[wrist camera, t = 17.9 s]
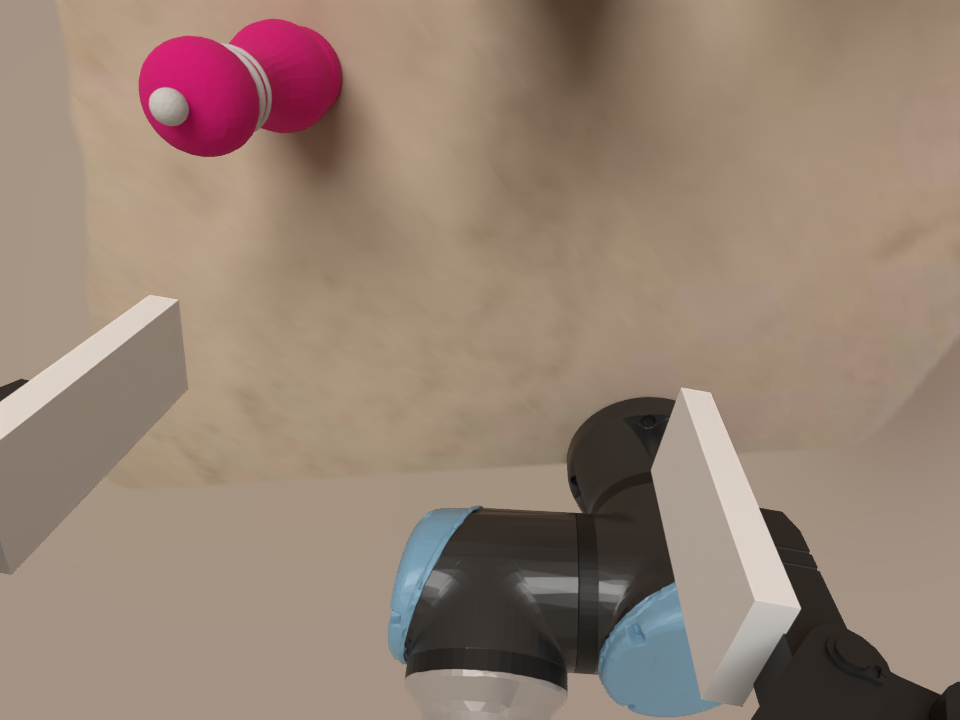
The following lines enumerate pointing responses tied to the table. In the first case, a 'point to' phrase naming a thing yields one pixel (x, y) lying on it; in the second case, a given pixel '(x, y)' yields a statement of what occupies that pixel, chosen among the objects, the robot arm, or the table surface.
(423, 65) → the table surface
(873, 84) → the table surface
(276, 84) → the pepper mill
